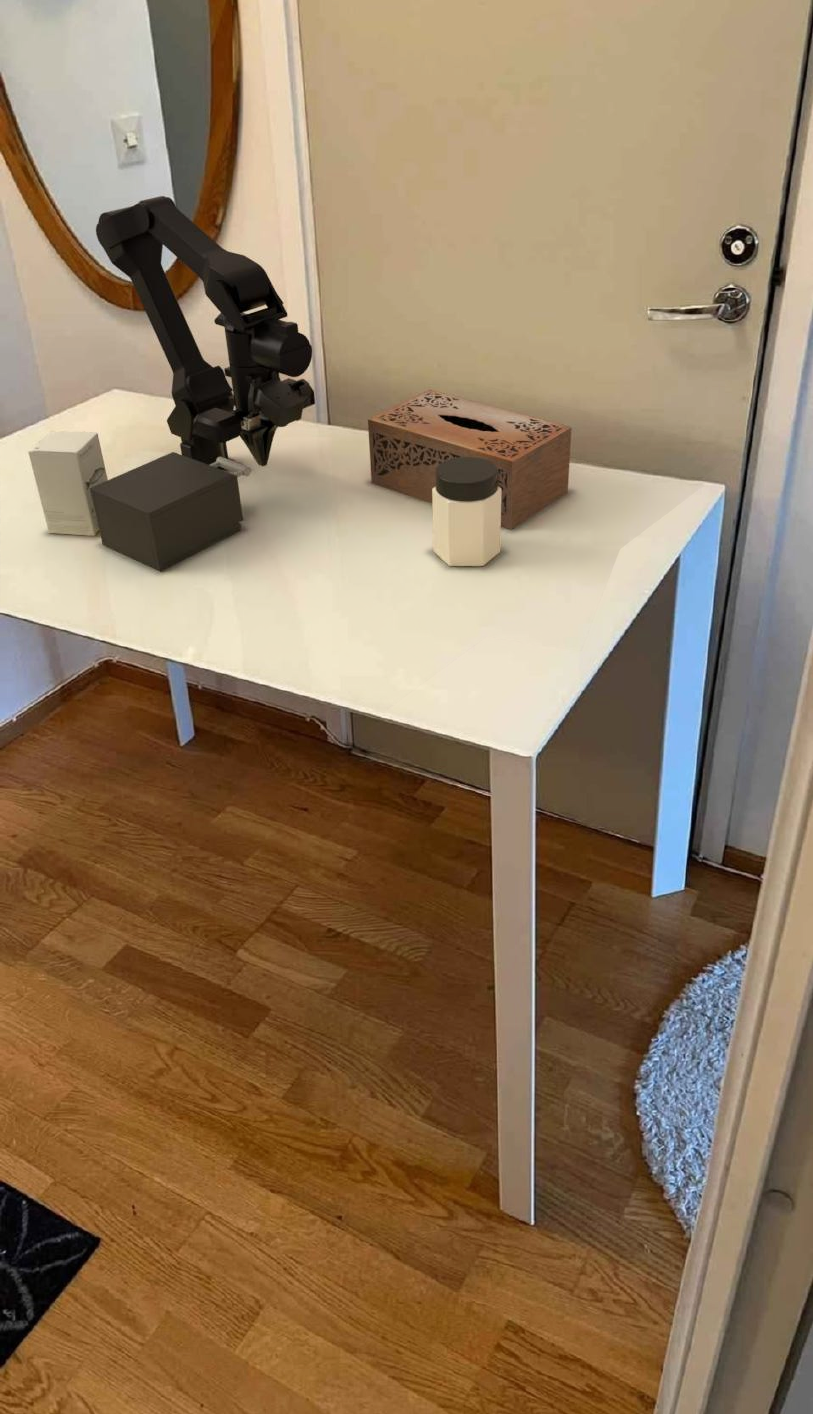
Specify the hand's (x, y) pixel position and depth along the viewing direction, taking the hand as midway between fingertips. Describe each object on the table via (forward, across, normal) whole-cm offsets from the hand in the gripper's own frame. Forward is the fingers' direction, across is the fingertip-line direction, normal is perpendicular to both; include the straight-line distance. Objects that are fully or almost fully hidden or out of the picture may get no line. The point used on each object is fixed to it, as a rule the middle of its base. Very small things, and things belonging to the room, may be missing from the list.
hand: (262, 465), depth 159 cm
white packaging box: (+4, -24, +14) cm, 27 cm away
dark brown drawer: (+3, -14, 0) cm, 14 cm away
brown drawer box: (+4, -18, 0) cm, 19 cm away
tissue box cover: (+4, +19, -24) cm, 31 cm away
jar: (+4, +4, -36) cm, 36 cm away
